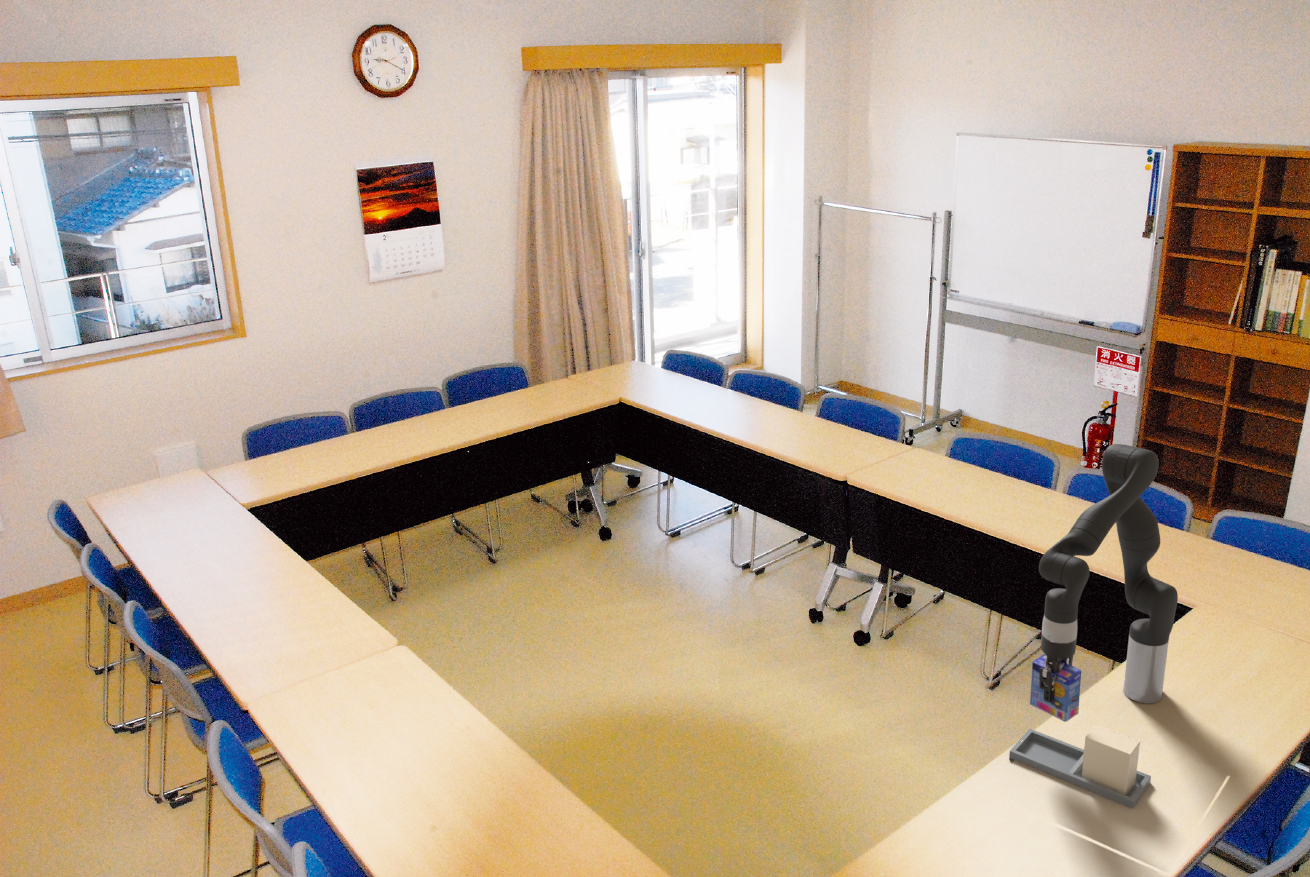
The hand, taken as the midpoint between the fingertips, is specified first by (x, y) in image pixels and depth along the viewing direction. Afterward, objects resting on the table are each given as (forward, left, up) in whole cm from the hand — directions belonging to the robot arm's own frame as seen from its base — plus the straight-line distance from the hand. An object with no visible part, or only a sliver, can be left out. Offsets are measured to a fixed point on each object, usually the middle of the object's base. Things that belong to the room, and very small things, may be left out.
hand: (1054, 694), depth 245 cm
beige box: (0, +14, -18) cm, 23 cm away
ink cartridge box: (0, 0, -4) cm, 4 cm away
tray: (0, +7, -19) cm, 20 cm away
